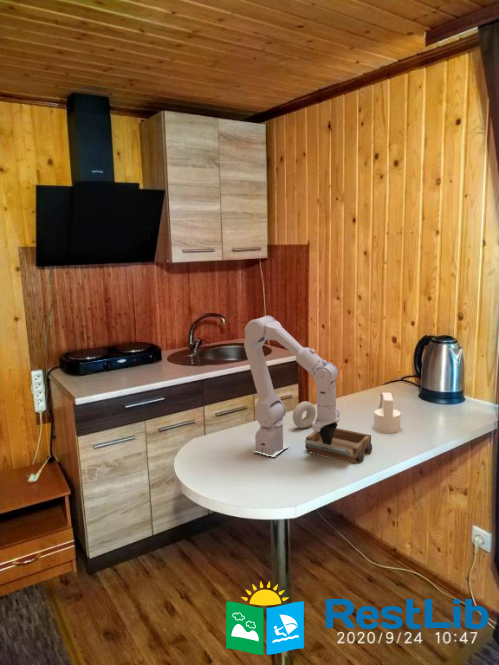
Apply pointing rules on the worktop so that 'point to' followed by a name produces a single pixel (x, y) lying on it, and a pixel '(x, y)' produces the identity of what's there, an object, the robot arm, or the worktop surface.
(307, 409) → the donut
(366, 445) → the box
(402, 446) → the worktop surface
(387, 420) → the cylinder with rectangular tab
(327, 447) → the tailgate
